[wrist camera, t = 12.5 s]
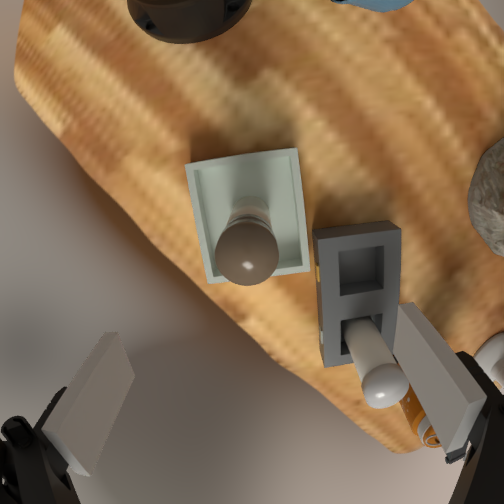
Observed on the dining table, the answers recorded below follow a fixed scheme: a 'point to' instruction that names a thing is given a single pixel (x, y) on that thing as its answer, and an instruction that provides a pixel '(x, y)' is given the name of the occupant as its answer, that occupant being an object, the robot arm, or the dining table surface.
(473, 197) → the grey jagged lump
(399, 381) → the cylinder
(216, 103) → the dining table surface
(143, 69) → the dining table surface
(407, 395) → the canister
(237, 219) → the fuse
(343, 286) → the block
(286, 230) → the parts tray
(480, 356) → the candlestick
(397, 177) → the dining table surface
